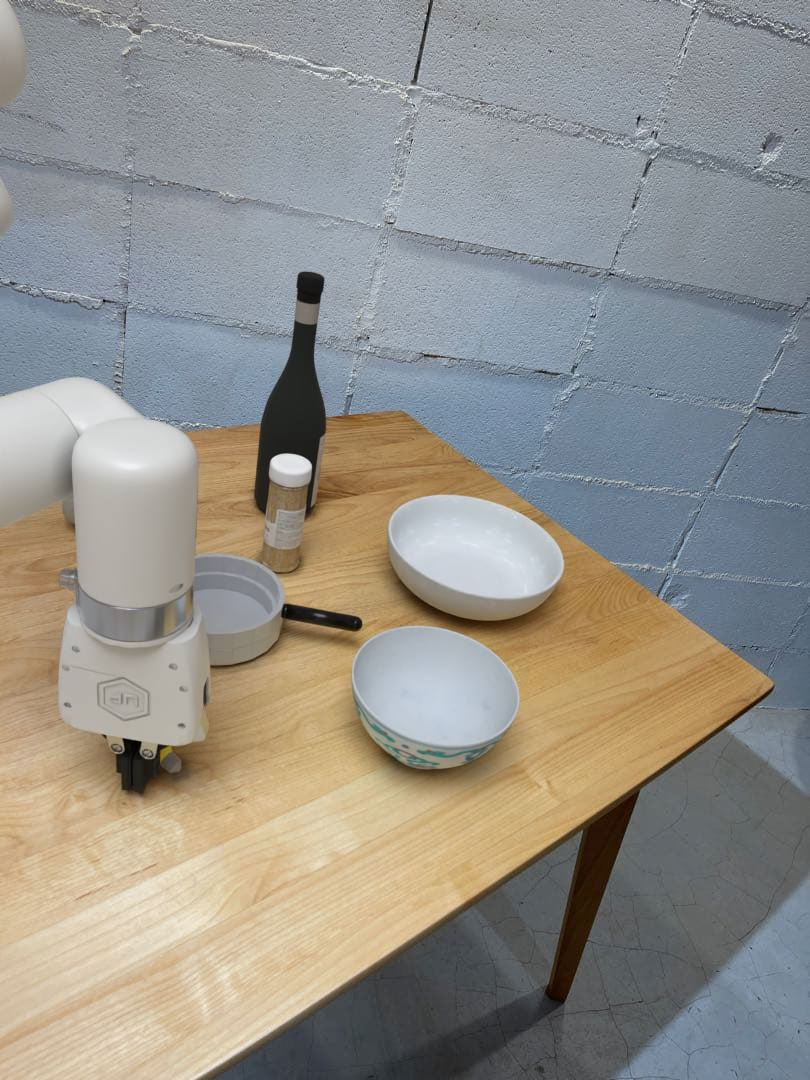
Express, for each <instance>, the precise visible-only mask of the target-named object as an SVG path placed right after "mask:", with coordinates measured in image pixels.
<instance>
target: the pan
mask: <svg viewBox="0 0 810 1080" xmlns="http://www.w3.org/2000/svg"><path fill="white" fill-rule="evenodd" d="M284 587H285V586H284V584H283V582H282V581H281V579H280V578H279V577H278V576H277V574H276V572H275V571H271V570H270V569H268V568H267V567H265V566H264V565H263V564H262V563H261V562H258V561H256V560H253V559H250V558H248V557H246V556H241V555H237V554H236V555H235V554H230V553H223V552H221V553H220V552H217V553H216V552H204V553H198V554H195V582H194V604H195V605H197V606H199V607H200V609H201V612H202V616H203V620H204V624H205V629H206V634H207V640H208V648H209V660H210V666H215V667H216V666H231V665H236V664H239V663H243V662H247V661H251V660H253V659H255V658H257V657H260V655H262V654H264V653H266V652H268V651H269V650H270V649H271V648H272V647H273V645H275V643H276V642H277V641H278V640H279V637H280V635H281V631H282V628H283V621H284V619H283V618H282V617H281V615H282V609H283V605H284V604H286V592H285V591H286V590H285V588H284Z"/></svg>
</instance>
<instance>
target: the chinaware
mask: <svg viewBox="0 0 810 1080" xmlns="http://www.w3.org/2000/svg"><path fill="white" fill-rule="evenodd" d="M350 679H351V682H350V683H351V692H352V698H353V702H354V705H355V709H356V712H357V715H358V717H359V719H360V721H361V723H362V725H363V727H364V729H365V730H366V732H367V733H368V735H369V736H370V737H371V738H372V740H373V741H374V742H375V743H376V744H377V745H378V746H379V747H380V748H381V749H382V750H384V751H385V752H386V753H388V755H391V756H392V757H393V758H395V759H396V760H397V761H398V762H400V763H402V764H403V765H405V766H407V767H410V768H414V769H418V770H436V769H439V770H440V769H450V768H456V767H459V766H462V765H465V764H468V763H470V762H473V761H474V760H476V759H478V758H480V757H482V756H484V755H485V754H486V753H487V752H488V751H490V750H491V749H492V748H494V747H495V745H496V744H498V742H500V740H501V739H502V738H503V737H504V736H505V735H506V733H507V732H508V730H510V727H511V726H512V724H513V723H514V721H515V720H516V718H517V715H518V713H519V709H520V703H521V696H520V689H519V686H518V683H517V680H516V678H515V676H514V674H513V672H512V670H510V668H509V667H508V665H507V664H506V663H505V662H504V661H503V660H502V659H501V657H499V656H498V655H497V654H496V653H495V652H493V651H492V650H491V649H490V648H489V647H487V646H486V645H484V644H482V643H481V642H480V641H477V640H475V639H474V638H471V637H470V636H467V635H464V634H462V633H460V632H457V631H454V630H450V629H446V628H442V627H437V626H429V625H407V626H405V625H404V626H399V627H394V628H390V629H387V630H384V631H382V632H379V633H377V634H376V635H374V636H372V637H370V638H369V639H368V640H367V641H365V642H364V643H363V644H362V645H361V646H360V647H359V649H358V651H357V652H356V654H355V656H354V657H353V661H352V664H351V671H350Z"/></svg>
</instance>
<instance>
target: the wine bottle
mask: <svg viewBox="0 0 810 1080" xmlns="http://www.w3.org/2000/svg"><path fill="white" fill-rule="evenodd" d="M324 287H325V277H324V275H322V274H320V273H318V272H314V271H308V270H307V271H300V272H298V274H297V277H296V287H295V288H296V300H295V301H296V302H295V311H294V320H293V329H292V339H291V340H292V341H291V346H290V352H289V356H288V359H287V361H286V363H285V366H284V368H283V370H282V372H281V374H280V376H279V377H278V379H277V381H276V383H275V385H274V386H273V388H272V390H271V392H270V394H269V396H268V398H267V401H266V404H265V406H264V409H263V413H262V417H261V420H260V424H259V425H260V427H259V437H258V446H257V447H258V449H257V459H256V469H255V470H256V471H255V480H254V491H253V497H254V501H255V504H256V506H257V507H258V508H259V509H260V510H262V511H263V512H264V513H266V509H267V502H268V493H269V485H270V477H269V468H270V461H271V459H272V458H273V457H275V456H277V455H280V454H295V455H299V456H302V457H304V458H306V459H307V460H309V461H310V463H311V465H312V473H311V480H310V482H309V485H308V491H307V498H306V511H305V516H306V515H308V514H310V513H311V512H312V510H313V509H314V508H315V507H316V503H317V498H318V497H317V496H318V489H319V482H320V475H321V468H322V461H323V455H324V446H325V441H326V434H327V433H326V432H327V415H326V414H327V413H326V406H325V402H324V398H323V394H322V391H321V387H320V383H319V380H318V379H319V378H318V375H317V370H316V363H315V348H316V347H315V346H316V338H317V330H318V324H319V323H318V322H319V315H320V307H321V301H322V300H321V299H322V295H323V294H322V293H324Z"/></svg>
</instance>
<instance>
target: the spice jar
mask: <svg viewBox="0 0 810 1080" xmlns="http://www.w3.org/2000/svg"><path fill="white" fill-rule="evenodd" d="M311 473H312V465H311V463H310V461H309V460H307V459H306V458H304V457H302V456H299V455H295V454H280V455H277V456H275V457H273V458H272V459H271V461H270V468H269V477H270V485H269V493H268V502H267V509H266V512H265V518H264V527H263V537H262V538H263V542H262V551H261V555H260V563H261V564H263V565H264V566H265V567H267V568H268V569H270V570H271V571H273V572H274V573H289V572H292V571H294V570H296V569H297V568H298V567H299V564H300V559H299V555H300V548H301V543H302V538H303V532H304V524H305V518H306V515H305V511H306V498H307V491H308V485H309V482H310V480H311Z"/></svg>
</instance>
